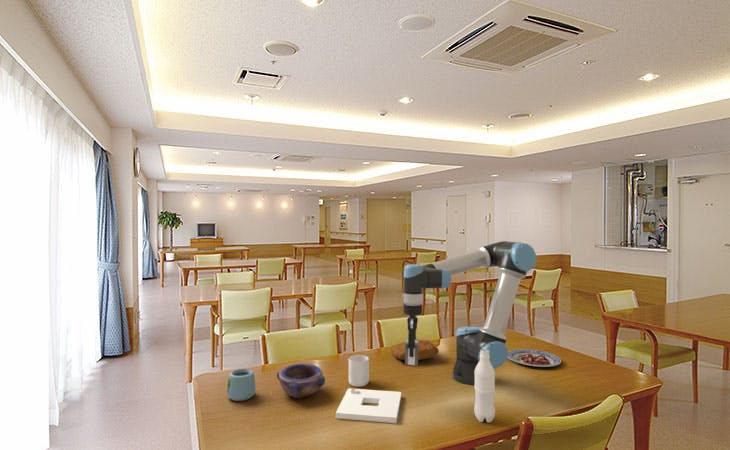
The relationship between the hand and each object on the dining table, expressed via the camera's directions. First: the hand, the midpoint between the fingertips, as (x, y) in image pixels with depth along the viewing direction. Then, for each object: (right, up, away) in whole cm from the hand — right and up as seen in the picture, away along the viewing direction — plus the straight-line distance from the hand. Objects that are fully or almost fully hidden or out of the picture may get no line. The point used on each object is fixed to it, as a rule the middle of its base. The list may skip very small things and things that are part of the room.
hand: (411, 362), depth 164 cm
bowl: (-45, -15, +6) cm, 48 cm away
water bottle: (+24, -16, -16) cm, 33 cm away
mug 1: (-70, -15, +5) cm, 71 cm away
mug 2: (-22, -15, +18) cm, 32 cm away
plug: (0, 0, 0) cm, 0 cm away
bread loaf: (+7, -15, +49) cm, 52 cm away
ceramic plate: (+67, -15, +46) cm, 83 cm away
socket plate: (-17, -15, -6) cm, 23 cm away
